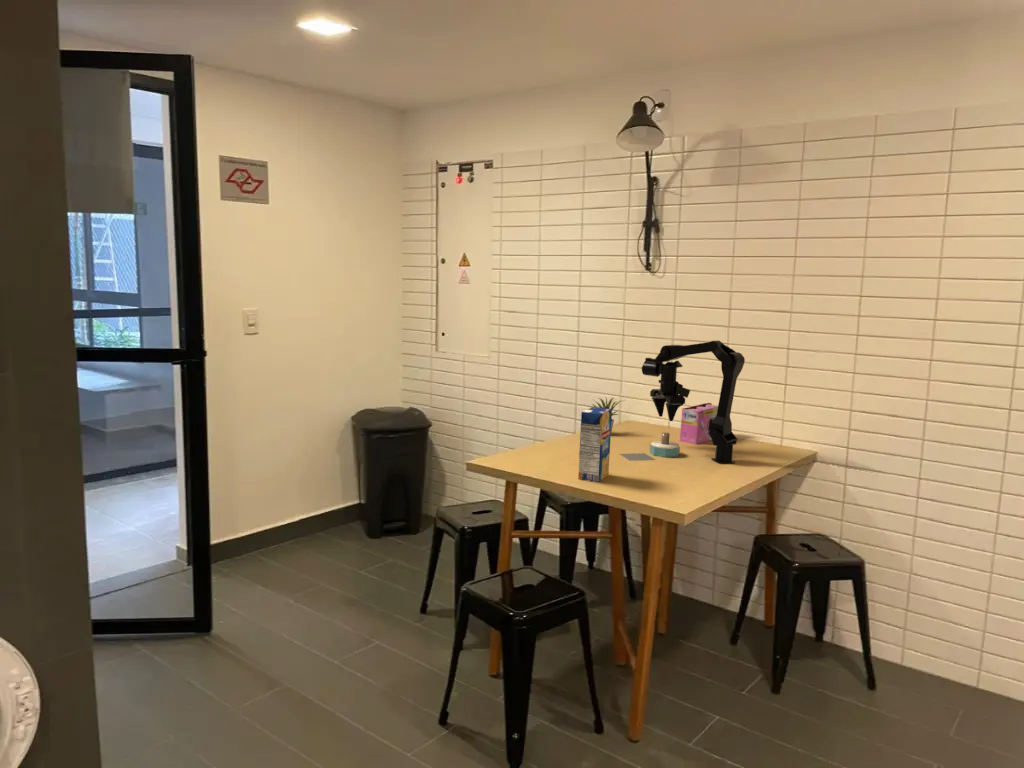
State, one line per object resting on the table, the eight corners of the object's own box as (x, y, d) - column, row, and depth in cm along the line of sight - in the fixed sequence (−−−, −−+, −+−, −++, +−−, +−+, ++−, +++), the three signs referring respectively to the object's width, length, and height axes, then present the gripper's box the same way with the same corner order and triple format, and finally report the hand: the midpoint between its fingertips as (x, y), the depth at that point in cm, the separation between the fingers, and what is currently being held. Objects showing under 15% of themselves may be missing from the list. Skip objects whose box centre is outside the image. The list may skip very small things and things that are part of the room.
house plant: (620, 431, 324) (623, 393, 321) (627, 438, 310) (630, 398, 308) (587, 430, 323) (589, 392, 320) (593, 437, 309) (595, 397, 307)
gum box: (707, 433, 325) (709, 402, 323) (724, 436, 320) (726, 404, 318) (679, 441, 308) (681, 408, 306) (696, 444, 302) (699, 411, 301)
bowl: (682, 458, 278) (683, 448, 278) (657, 459, 276) (658, 449, 275) (670, 451, 288) (671, 442, 287) (646, 452, 285) (646, 443, 285)
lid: (683, 448, 277) (684, 435, 277) (658, 449, 275) (658, 436, 274) (671, 442, 287) (672, 430, 286) (646, 443, 285) (647, 430, 284)
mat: (655, 461, 272) (655, 459, 272) (629, 461, 270) (629, 460, 270) (644, 454, 282) (644, 453, 282) (619, 455, 280) (619, 453, 279)
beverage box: (578, 479, 244) (581, 411, 241) (588, 471, 254) (592, 406, 251) (598, 482, 242) (602, 414, 238) (608, 474, 252) (612, 409, 248)
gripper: (699, 381, 280) (696, 423, 283) (677, 374, 298) (674, 414, 300) (671, 381, 278) (669, 423, 280) (650, 374, 296) (648, 414, 298)
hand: (665, 418), depth 290 cm, fingers open, 9 cm apart
